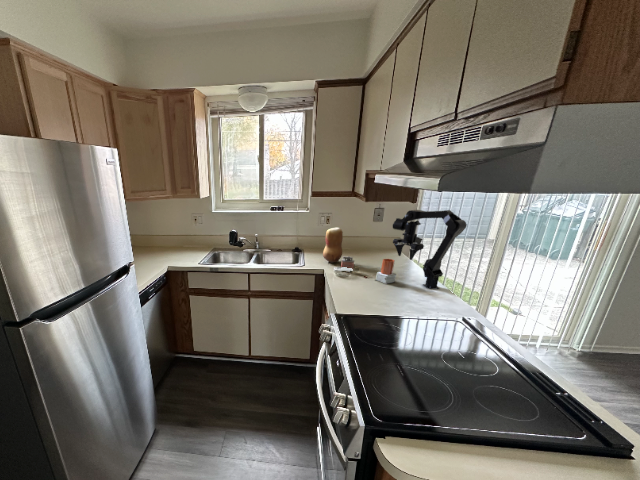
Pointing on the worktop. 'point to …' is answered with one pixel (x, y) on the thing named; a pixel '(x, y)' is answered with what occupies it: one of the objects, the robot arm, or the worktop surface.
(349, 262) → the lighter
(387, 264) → the cup
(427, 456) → the worktop surface
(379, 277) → the small box
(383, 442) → the worktop surface
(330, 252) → the butternut squash
